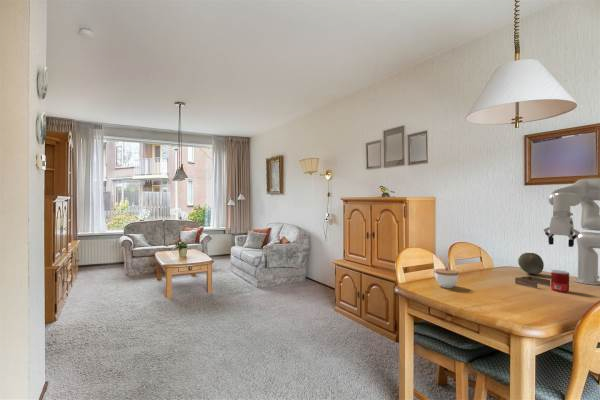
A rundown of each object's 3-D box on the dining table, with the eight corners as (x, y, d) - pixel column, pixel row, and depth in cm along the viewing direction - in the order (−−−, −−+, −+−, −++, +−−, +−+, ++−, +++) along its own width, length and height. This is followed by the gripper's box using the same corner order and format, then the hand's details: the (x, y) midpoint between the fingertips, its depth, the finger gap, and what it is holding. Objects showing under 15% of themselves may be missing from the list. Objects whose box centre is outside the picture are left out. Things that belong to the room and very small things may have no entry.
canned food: (572, 293, 182) (572, 273, 182) (555, 292, 184) (555, 272, 184) (563, 289, 190) (564, 270, 190) (548, 288, 191) (548, 269, 191)
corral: (529, 281, 208) (529, 275, 208) (550, 285, 197) (550, 280, 197) (515, 283, 202) (515, 277, 202) (536, 288, 191) (536, 282, 191)
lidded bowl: (451, 290, 184) (452, 270, 184) (430, 285, 194) (430, 267, 194) (462, 287, 192) (462, 268, 192) (441, 282, 202) (441, 264, 202)
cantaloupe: (538, 273, 233) (538, 251, 233) (546, 277, 219) (547, 255, 219) (515, 271, 237) (515, 250, 237) (522, 275, 223) (522, 253, 223)
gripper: (583, 215, 177) (583, 247, 177) (548, 214, 193) (547, 243, 193) (575, 215, 174) (574, 248, 174) (540, 214, 190) (539, 243, 190)
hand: (560, 245), depth 183 cm, fingers open, 9 cm apart
